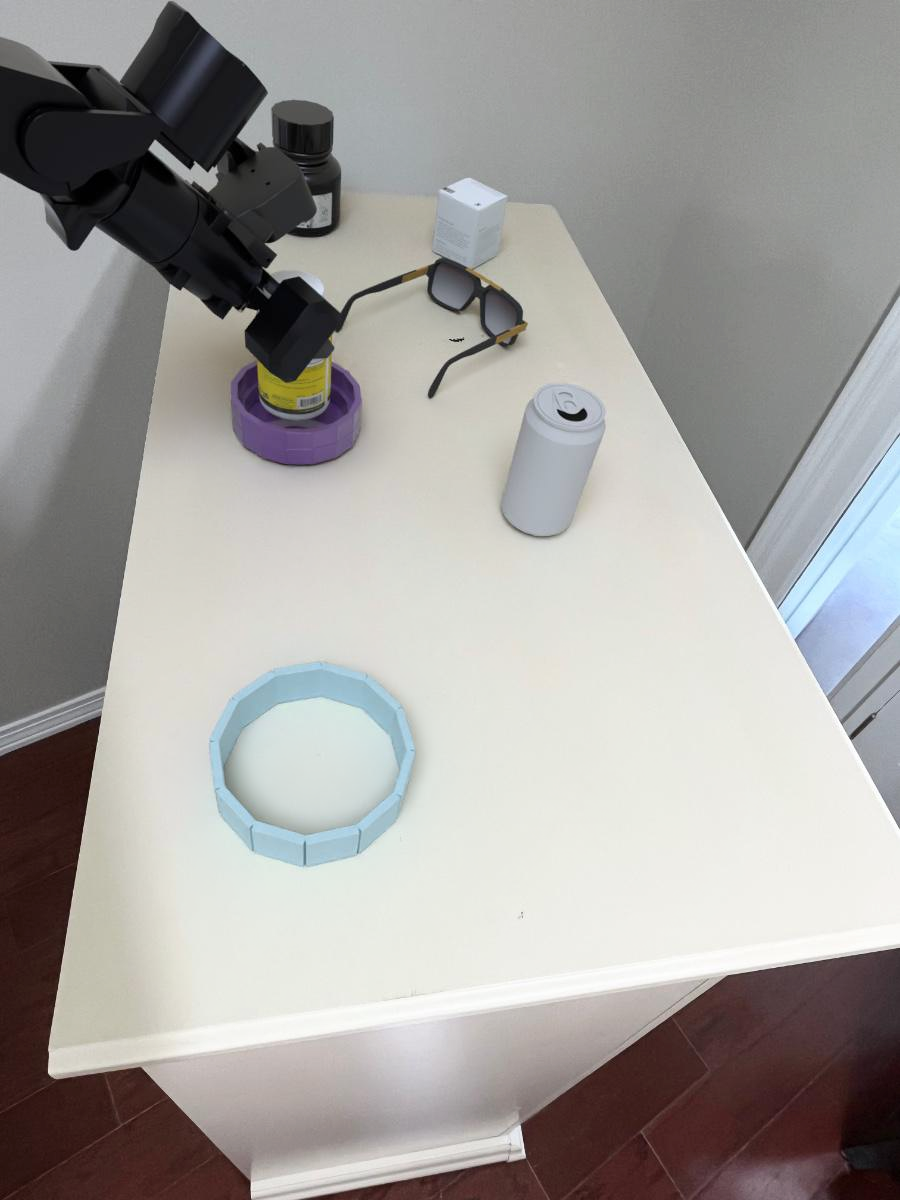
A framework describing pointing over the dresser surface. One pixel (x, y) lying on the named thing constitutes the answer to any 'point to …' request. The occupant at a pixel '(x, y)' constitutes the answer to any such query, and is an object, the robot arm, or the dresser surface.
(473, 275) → the sunglasses
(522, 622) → the dresser surface
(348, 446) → the purple bowl
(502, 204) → the white cardboard box
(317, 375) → the pill bottle
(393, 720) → the light blue ring
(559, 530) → the beverage can
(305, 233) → the ink bottle
